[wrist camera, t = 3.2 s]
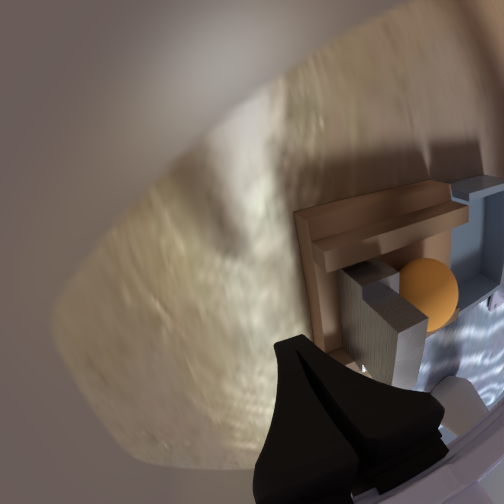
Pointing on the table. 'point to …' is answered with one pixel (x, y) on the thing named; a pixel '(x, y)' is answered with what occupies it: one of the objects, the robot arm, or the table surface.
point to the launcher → (371, 245)
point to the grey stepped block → (380, 323)
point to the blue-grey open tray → (478, 240)
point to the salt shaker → (459, 404)
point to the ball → (430, 289)
